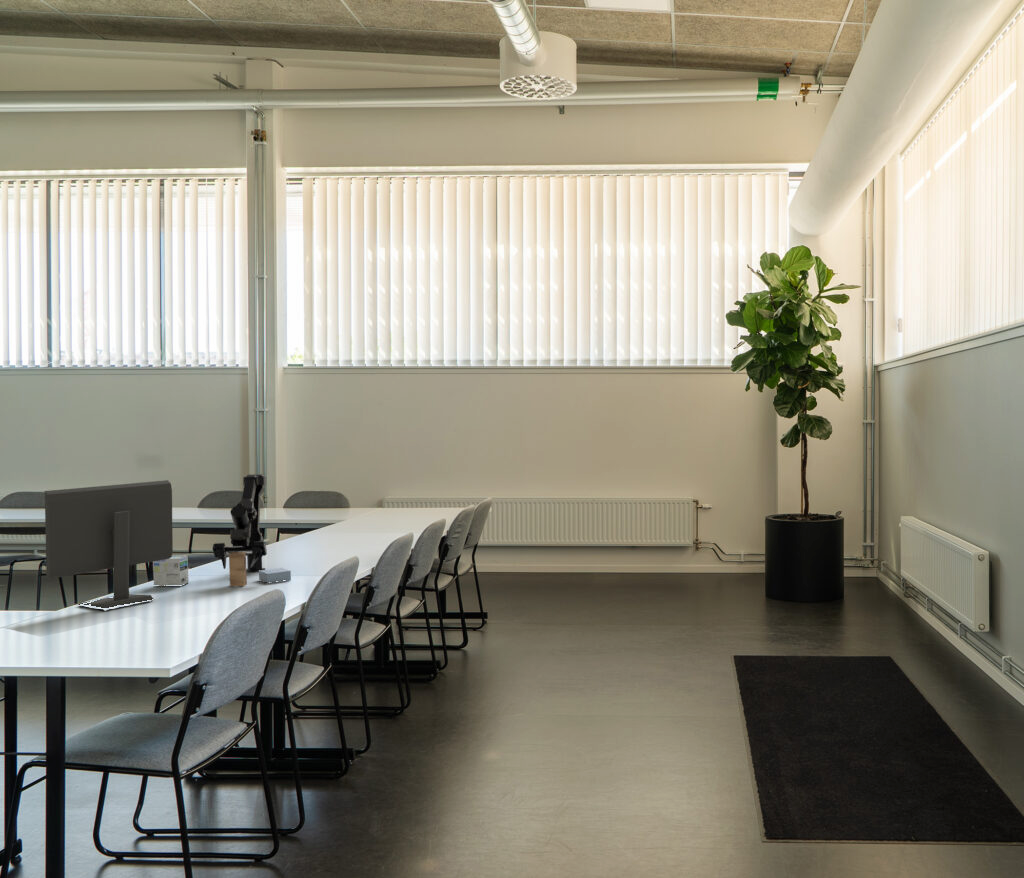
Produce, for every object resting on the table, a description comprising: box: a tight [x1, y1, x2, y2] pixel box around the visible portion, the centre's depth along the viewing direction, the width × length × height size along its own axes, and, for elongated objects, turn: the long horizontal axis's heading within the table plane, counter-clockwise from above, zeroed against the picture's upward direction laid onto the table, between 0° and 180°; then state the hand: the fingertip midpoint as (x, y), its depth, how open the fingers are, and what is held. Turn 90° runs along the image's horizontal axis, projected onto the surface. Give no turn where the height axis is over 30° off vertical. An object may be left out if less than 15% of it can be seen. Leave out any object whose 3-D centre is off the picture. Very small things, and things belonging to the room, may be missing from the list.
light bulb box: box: [152, 555, 190, 586], centre depth 334 cm, size 11×7×11 cm, turn 84°
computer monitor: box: [44, 479, 174, 608], centre depth 302 cm, size 44×16×40 cm, turn 145°
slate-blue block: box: [258, 567, 292, 584], centre depth 339 cm, size 9×9×4 cm
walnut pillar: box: [228, 552, 248, 587], centre depth 330 cm, size 5×5×12 cm
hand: (237, 568), depth 329 cm, fingers open, 9 cm apart
